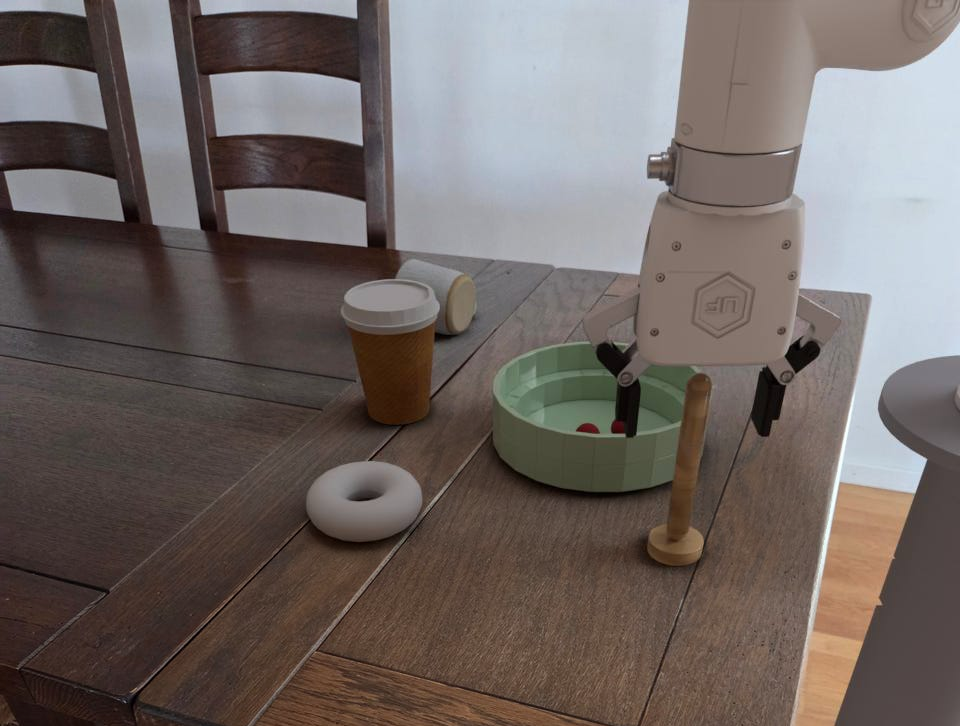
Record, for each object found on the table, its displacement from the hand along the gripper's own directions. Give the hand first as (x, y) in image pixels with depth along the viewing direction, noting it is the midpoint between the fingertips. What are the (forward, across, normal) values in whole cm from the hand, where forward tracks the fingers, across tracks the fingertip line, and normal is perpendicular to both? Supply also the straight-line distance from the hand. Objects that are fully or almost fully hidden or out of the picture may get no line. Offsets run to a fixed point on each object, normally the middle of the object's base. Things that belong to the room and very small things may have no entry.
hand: (694, 428), depth 66 cm
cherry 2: (+9, -3, +18) cm, 20 cm away
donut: (+11, -26, +5) cm, 29 cm away
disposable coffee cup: (+11, -25, +25) cm, 37 cm away
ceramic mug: (+11, -22, +48) cm, 54 cm away
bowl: (+11, -5, +18) cm, 22 cm away
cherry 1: (+9, -6, +16) cm, 19 cm away
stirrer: (+11, 0, 0) cm, 11 cm away
